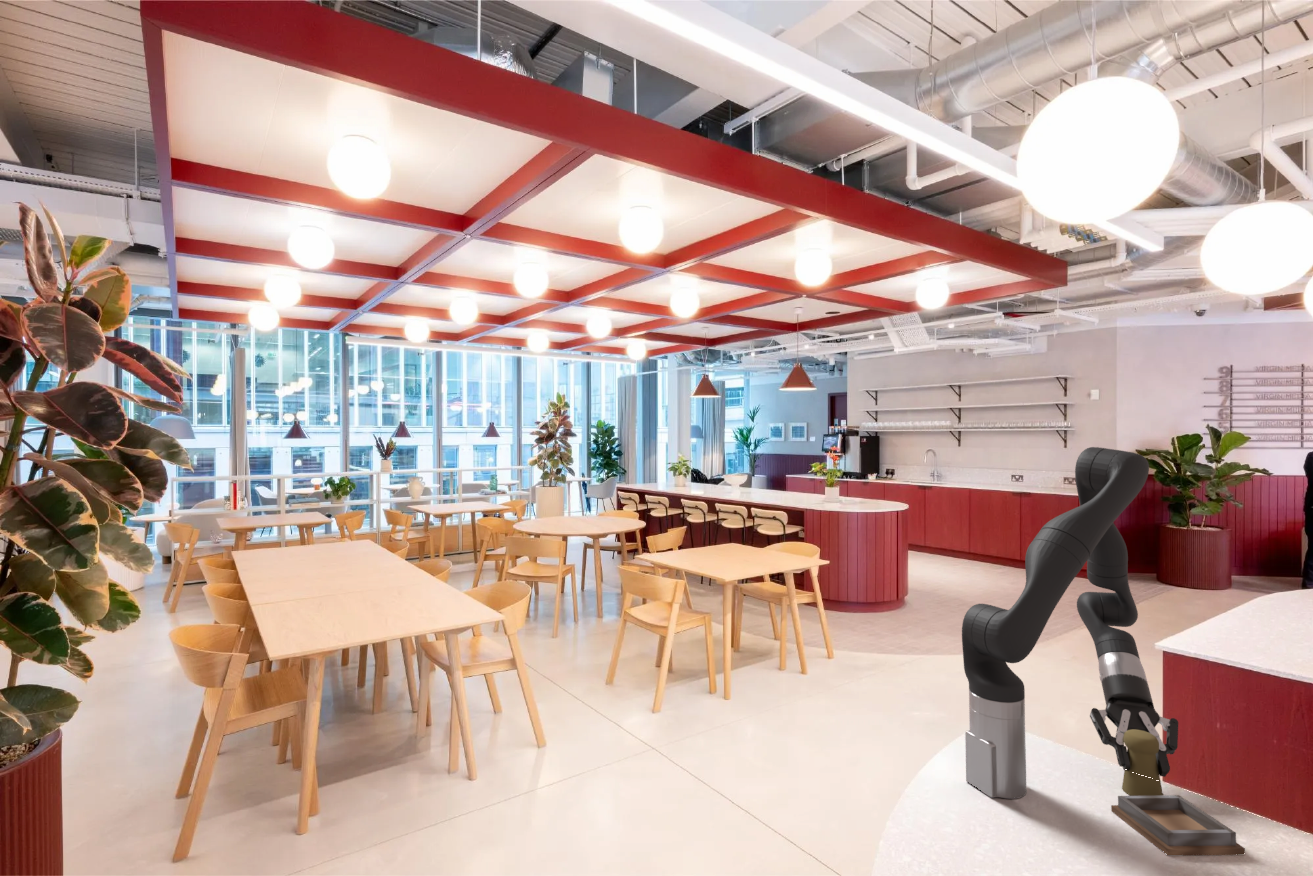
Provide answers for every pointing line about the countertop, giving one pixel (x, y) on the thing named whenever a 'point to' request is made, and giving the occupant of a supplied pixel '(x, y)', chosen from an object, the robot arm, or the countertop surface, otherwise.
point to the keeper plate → (1177, 825)
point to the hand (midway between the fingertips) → (1145, 771)
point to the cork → (1141, 764)
